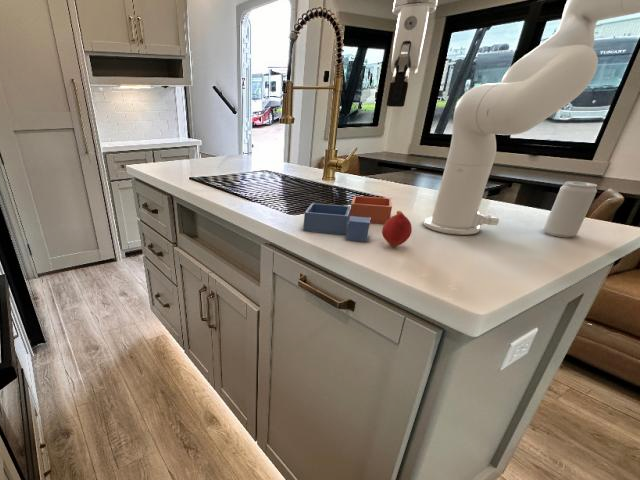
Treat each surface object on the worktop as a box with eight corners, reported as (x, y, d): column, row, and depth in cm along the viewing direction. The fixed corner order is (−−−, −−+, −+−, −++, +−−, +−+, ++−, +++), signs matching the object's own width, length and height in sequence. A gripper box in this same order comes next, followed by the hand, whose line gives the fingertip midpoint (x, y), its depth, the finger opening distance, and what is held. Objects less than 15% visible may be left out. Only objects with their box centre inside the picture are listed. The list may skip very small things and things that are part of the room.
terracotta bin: (388, 214, 103) (391, 198, 101) (388, 224, 94) (392, 206, 92) (351, 211, 106) (354, 195, 104) (348, 220, 97) (351, 203, 95)
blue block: (367, 236, 86) (370, 217, 84) (366, 242, 82) (369, 222, 80) (347, 234, 87) (350, 215, 85) (346, 239, 83) (349, 220, 81)
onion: (402, 242, 82) (410, 207, 78) (411, 251, 76) (419, 214, 73) (376, 242, 82) (383, 207, 78) (383, 250, 77) (390, 214, 73)
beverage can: (570, 232, 88) (593, 181, 83) (579, 239, 83) (604, 186, 77) (539, 228, 91) (559, 179, 85) (546, 236, 86) (568, 184, 80)
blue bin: (348, 223, 95) (351, 206, 93) (344, 234, 87) (347, 216, 84) (310, 219, 98) (311, 203, 96) (303, 230, 90) (304, 212, 87)
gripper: (441, -14, 58) (415, 106, 66) (434, 10, 72) (414, 106, 80) (392, -9, 61) (373, 106, 69) (394, 13, 75) (379, 106, 83)
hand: (395, 106), depth 75 cm, fingers open, 9 cm apart
